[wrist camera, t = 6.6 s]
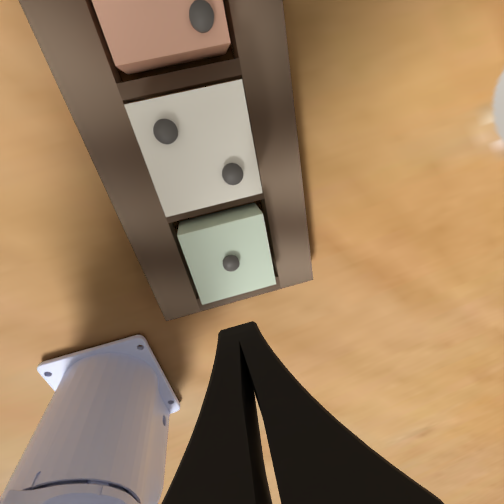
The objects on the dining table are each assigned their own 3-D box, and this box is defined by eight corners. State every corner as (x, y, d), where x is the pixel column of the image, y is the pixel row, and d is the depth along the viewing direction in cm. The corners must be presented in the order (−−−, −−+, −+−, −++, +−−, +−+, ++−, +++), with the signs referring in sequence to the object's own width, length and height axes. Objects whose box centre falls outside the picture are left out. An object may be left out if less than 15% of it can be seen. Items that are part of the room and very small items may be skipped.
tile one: (267, 266, 20) (277, 286, 17) (201, 284, 19) (202, 307, 17) (254, 202, 18) (264, 215, 15) (179, 221, 17) (176, 237, 15)
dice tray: (305, 269, 21) (313, 279, 20) (168, 307, 20) (166, 321, 19) (255, -139, 12) (263, -175, 10) (-11, -99, 11) (-43, -132, 9)
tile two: (253, 183, 16) (263, 194, 13) (169, 204, 15) (165, 219, 13) (234, 85, 14) (242, 78, 11) (135, 107, 13) (122, 104, 11)
